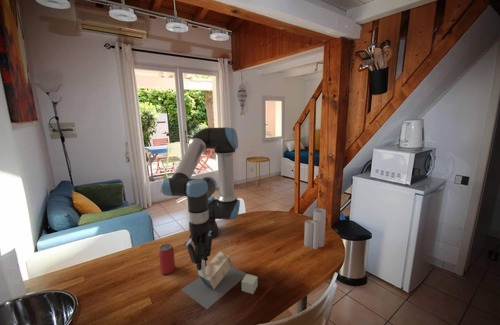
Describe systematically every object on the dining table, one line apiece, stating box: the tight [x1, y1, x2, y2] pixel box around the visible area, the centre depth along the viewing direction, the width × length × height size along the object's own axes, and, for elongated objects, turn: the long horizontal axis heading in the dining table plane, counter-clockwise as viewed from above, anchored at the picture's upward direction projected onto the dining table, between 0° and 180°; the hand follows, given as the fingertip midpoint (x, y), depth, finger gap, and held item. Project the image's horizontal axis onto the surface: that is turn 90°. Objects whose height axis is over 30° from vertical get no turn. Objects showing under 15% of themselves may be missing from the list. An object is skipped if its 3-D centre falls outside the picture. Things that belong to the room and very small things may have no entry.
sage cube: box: [241, 273, 259, 295], centre depth 94 cm, size 5×5×5 cm
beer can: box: [158, 243, 176, 275], centre depth 106 cm, size 7×7×12 cm
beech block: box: [198, 251, 234, 290], centre depth 98 cm, size 6×6×13 cm
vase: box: [303, 207, 327, 250], centre depth 124 cm, size 11×7×20 cm, turn 112°
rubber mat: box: [181, 265, 247, 310], centre depth 98 cm, size 16×24×1 cm, turn 142°
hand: (202, 275), depth 91 cm, fingers closed
